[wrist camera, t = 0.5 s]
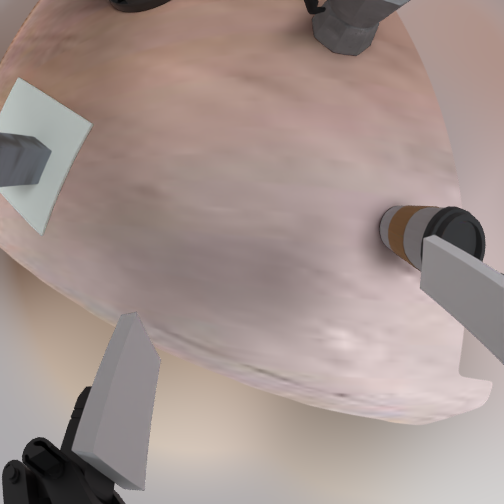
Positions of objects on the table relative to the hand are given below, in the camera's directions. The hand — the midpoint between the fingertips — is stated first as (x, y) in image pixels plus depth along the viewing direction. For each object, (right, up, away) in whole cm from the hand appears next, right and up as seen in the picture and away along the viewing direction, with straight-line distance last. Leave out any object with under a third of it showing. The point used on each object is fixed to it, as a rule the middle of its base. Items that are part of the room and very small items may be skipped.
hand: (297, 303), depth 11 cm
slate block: (-37, +17, +22) cm, 47 cm away
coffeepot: (+10, +34, +18) cm, 40 cm away
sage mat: (-41, +20, +22) cm, 51 cm away
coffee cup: (+19, +5, +25) cm, 31 cm away
